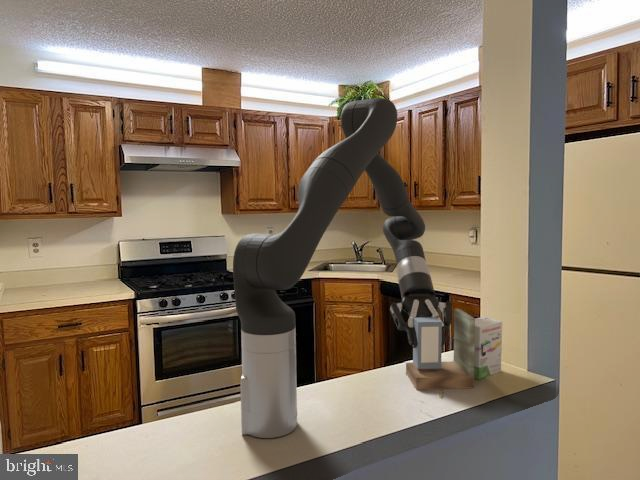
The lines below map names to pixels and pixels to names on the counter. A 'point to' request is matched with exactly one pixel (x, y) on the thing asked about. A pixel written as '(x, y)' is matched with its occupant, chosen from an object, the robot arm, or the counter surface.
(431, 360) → the grey block
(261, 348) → the robot arm
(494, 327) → the ink box
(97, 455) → the counter surface
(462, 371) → the bookend
